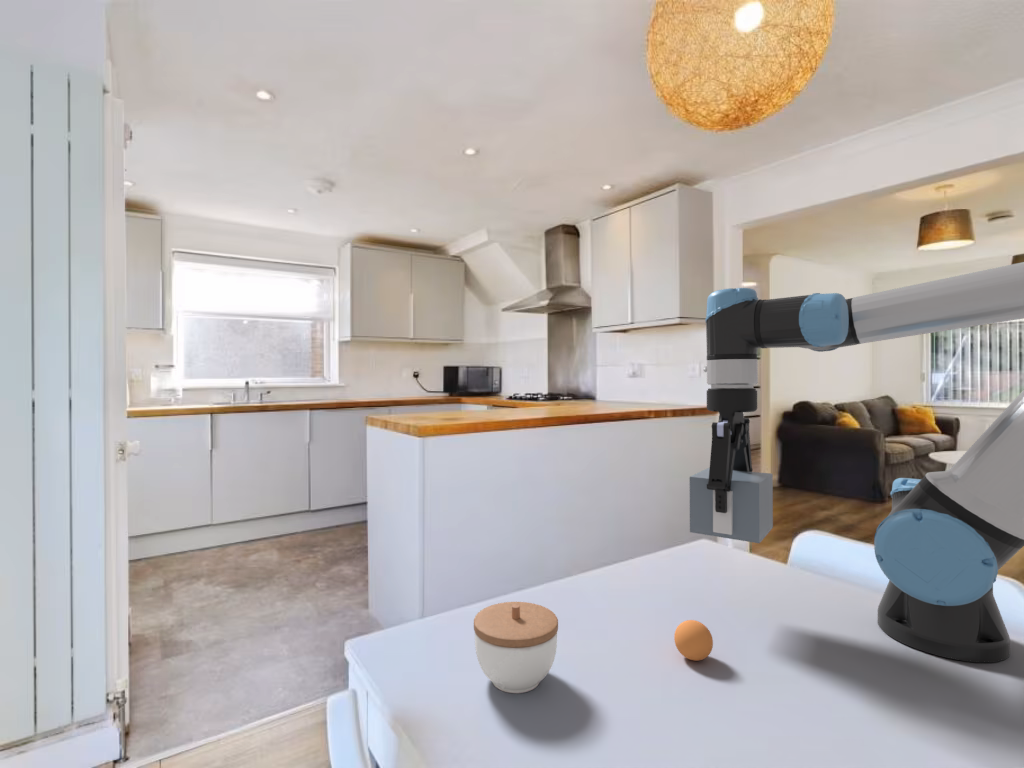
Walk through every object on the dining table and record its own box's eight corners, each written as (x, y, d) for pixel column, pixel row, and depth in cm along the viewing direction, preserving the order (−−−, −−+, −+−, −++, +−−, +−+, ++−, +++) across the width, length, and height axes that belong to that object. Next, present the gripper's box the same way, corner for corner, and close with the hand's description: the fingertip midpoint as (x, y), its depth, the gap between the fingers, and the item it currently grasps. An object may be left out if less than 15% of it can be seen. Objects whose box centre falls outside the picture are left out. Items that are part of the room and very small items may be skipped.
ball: (717, 655, 73) (717, 619, 73) (707, 672, 69) (707, 634, 69) (680, 645, 76) (680, 610, 76) (669, 660, 72) (669, 623, 72)
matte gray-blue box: (772, 527, 86) (772, 473, 86) (759, 543, 78) (759, 483, 78) (708, 518, 92) (708, 468, 92) (689, 532, 84) (689, 476, 84)
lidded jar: (561, 705, 62) (561, 626, 62) (469, 705, 62) (469, 625, 62) (555, 657, 73) (555, 589, 72) (477, 656, 73) (477, 588, 73)
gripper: (725, 385, 96) (726, 507, 96) (684, 387, 78) (685, 538, 78) (771, 386, 92) (771, 513, 92) (738, 387, 73) (739, 547, 74)
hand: (732, 524), depth 85 cm, fingers closed on matte gray-blue box, 10 cm apart
